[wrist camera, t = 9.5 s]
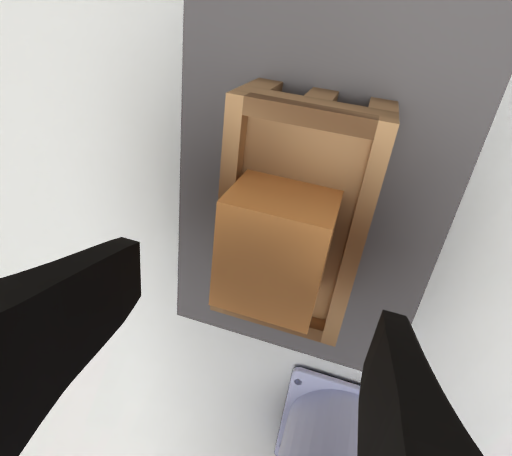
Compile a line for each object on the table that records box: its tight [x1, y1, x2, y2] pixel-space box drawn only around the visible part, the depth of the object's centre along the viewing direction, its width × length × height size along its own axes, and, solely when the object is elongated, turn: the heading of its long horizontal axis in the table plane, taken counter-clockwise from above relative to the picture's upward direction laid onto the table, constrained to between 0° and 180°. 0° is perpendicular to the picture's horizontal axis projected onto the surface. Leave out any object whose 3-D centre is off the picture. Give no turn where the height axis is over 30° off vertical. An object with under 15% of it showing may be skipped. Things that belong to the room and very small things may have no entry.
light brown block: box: [209, 169, 344, 334], centre depth 14 cm, size 4×4×3 cm
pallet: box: [210, 78, 400, 347], centre depth 16 cm, size 9×5×4 cm, turn 173°
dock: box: [177, 0, 512, 371], centre depth 19 cm, size 18×12×3 cm, turn 173°
